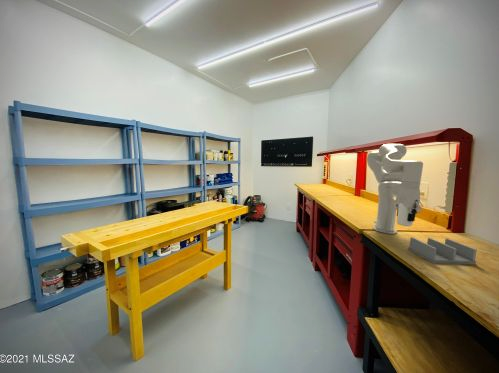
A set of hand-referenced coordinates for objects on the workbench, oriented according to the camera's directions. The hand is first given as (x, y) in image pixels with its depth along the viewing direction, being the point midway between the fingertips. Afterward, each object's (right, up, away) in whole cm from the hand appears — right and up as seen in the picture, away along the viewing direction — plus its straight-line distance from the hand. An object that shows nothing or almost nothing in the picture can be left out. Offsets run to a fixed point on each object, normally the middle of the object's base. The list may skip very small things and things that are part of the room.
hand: (405, 218), depth 99 cm
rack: (+6, -15, -12) cm, 20 cm away
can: (0, -3, +1) cm, 3 cm away
